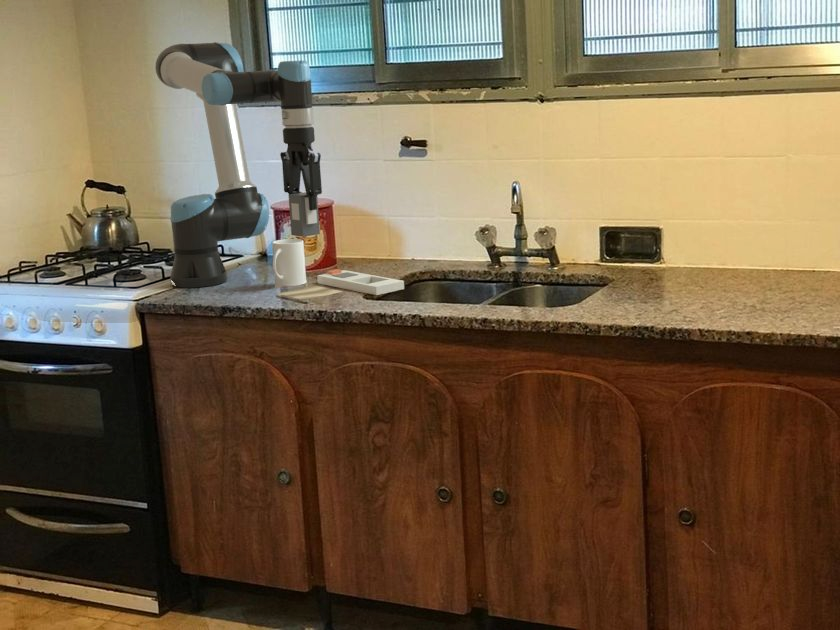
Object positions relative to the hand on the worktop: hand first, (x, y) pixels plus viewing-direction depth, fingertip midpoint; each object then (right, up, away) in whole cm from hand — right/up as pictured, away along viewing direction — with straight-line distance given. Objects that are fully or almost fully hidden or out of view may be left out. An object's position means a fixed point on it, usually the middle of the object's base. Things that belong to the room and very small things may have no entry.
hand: (304, 222), depth 254 cm
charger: (0, -3, +1) cm, 3 cm away
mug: (-6, -16, +17) cm, 24 cm away
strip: (+11, -16, +12) cm, 23 cm away
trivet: (+1, -18, +4) cm, 19 cm away
